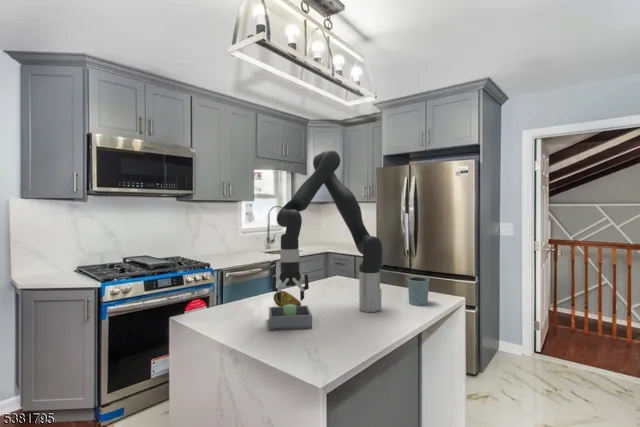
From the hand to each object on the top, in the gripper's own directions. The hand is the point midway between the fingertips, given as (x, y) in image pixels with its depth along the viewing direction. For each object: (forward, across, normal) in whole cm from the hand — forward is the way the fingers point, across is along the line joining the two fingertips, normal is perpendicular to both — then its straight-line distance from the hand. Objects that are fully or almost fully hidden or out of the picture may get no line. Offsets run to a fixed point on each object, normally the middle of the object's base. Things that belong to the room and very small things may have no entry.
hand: (290, 300), depth 142 cm
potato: (+9, 0, -20) cm, 22 cm away
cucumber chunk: (+8, 0, 0) cm, 8 cm away
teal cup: (+10, -63, -20) cm, 66 cm away
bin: (+9, 0, 0) cm, 9 cm away
